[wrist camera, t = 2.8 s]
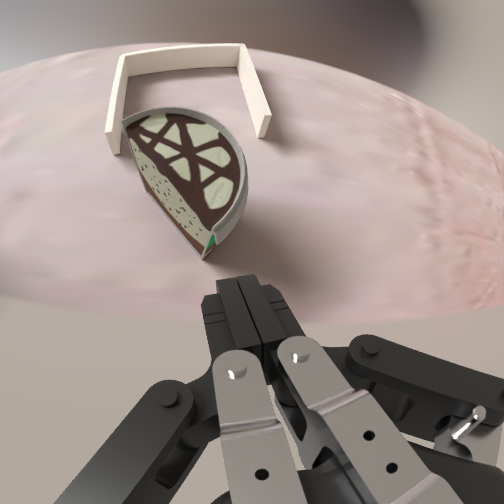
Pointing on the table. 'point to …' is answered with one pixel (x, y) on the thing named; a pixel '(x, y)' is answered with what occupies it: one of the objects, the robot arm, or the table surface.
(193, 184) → the food container
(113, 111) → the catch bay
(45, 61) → the table surface
